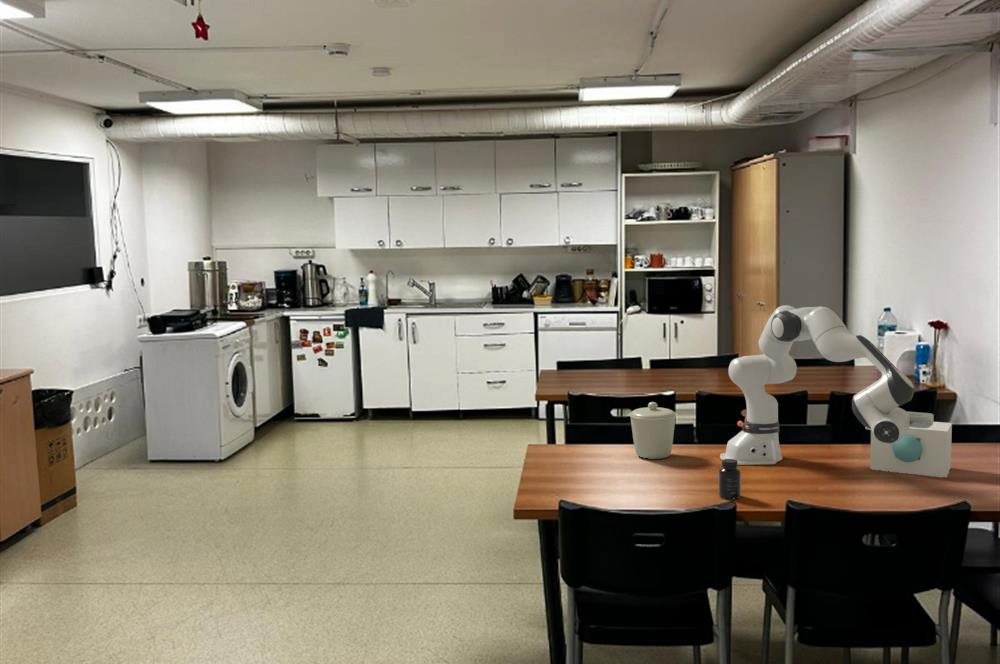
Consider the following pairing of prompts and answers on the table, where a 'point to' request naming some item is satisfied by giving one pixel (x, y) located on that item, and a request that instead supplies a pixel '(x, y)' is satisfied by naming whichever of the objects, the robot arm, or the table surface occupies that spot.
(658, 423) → the canister
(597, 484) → the table surface
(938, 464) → the knob mount
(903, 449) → the knob
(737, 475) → the supplement bottle
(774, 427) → the robot arm
